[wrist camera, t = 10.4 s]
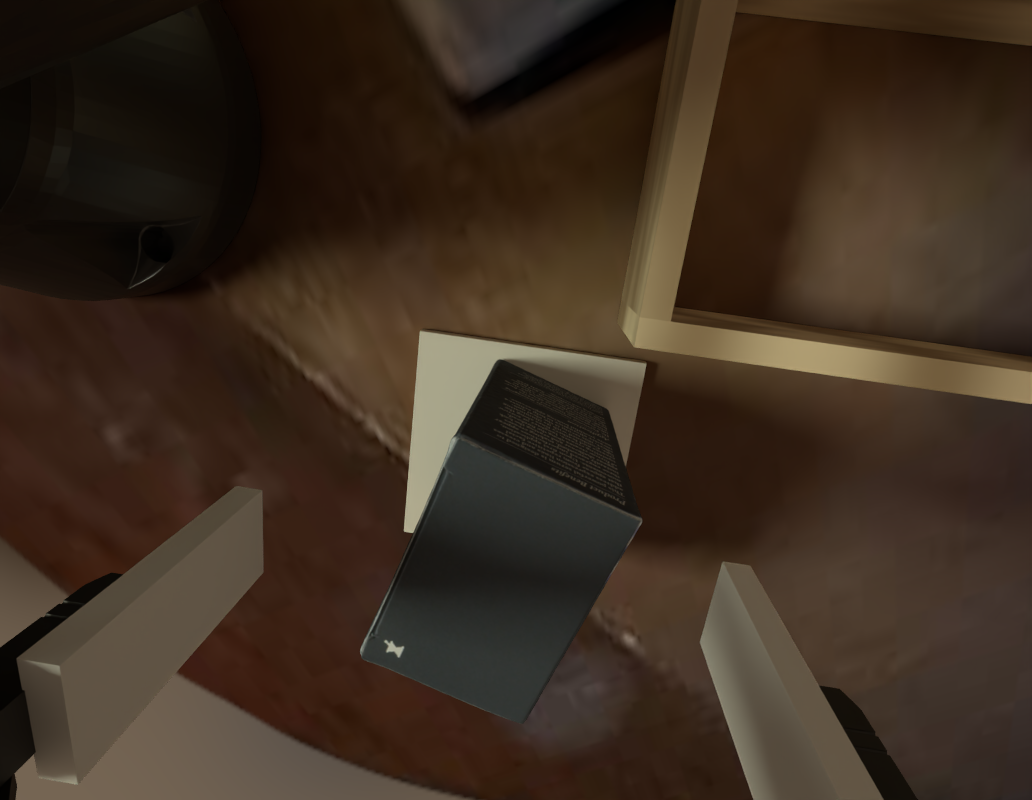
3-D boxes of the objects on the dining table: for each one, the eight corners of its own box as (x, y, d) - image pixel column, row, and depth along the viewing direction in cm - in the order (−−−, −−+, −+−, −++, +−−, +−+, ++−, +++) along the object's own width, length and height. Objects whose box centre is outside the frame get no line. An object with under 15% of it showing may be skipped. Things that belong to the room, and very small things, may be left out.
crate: (617, 322, 24) (634, 347, 18) (680, -27, 20) (727, -134, 14) (1067, 386, 23) (1234, 433, 17) (1218, 34, 19) (1494, -55, 14)
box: (538, 546, 27) (523, 734, 16) (432, 498, 26) (349, 657, 16) (613, 407, 24) (649, 523, 14) (498, 352, 24) (450, 432, 14)
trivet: (407, 525, 27) (403, 531, 27) (423, 329, 25) (419, 330, 24) (605, 557, 27) (606, 564, 26) (644, 360, 24) (646, 363, 24)
